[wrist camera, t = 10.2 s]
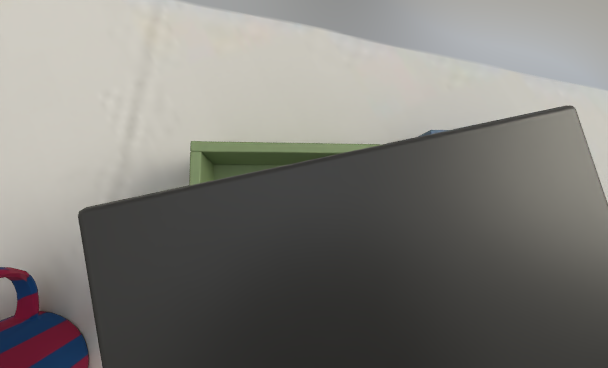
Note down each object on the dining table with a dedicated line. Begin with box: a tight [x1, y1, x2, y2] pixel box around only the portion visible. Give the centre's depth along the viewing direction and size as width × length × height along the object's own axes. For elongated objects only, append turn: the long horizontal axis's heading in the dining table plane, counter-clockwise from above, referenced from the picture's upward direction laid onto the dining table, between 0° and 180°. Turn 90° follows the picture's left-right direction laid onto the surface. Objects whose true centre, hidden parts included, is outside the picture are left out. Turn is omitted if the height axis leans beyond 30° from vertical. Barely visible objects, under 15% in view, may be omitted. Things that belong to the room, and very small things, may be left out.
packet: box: [78, 106, 608, 368], centre depth 8 cm, size 4×5×12 cm
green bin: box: [189, 141, 380, 185], centre depth 18 cm, size 11×11×5 cm
